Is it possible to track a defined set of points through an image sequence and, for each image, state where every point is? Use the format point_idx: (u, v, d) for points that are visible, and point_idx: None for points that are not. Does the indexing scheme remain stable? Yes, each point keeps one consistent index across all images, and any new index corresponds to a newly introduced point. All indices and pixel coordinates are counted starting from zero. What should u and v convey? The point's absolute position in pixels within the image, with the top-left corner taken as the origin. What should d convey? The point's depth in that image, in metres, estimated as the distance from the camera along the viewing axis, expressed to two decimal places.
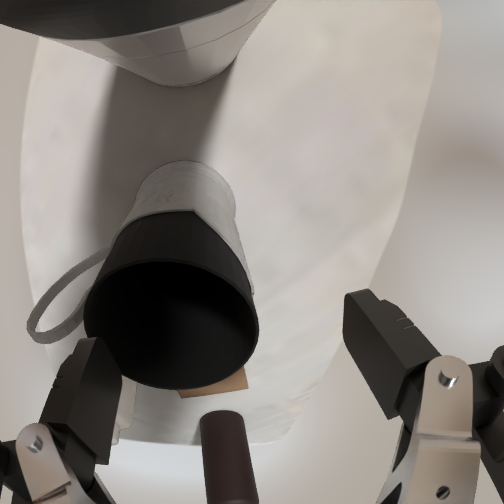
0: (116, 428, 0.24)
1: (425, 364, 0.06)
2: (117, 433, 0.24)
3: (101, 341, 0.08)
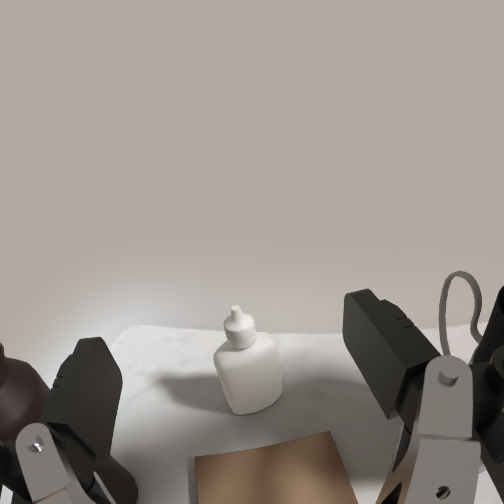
0: (246, 343, 0.23)
1: (425, 364, 0.06)
2: (242, 339, 0.22)
3: (101, 341, 0.08)
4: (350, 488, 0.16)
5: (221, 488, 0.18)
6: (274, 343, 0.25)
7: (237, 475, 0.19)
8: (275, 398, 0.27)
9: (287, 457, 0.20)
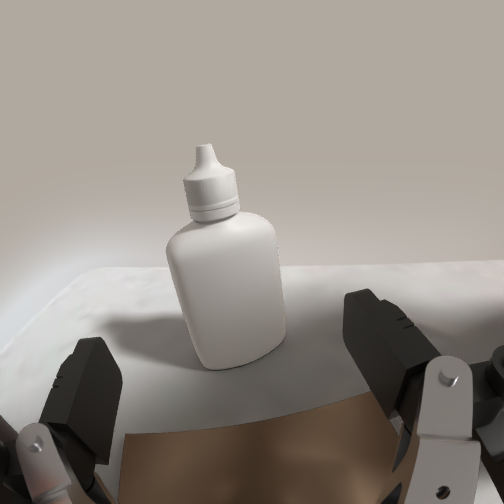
0: (220, 207, 0.13)
1: (425, 364, 0.06)
2: (212, 198, 0.13)
3: (101, 341, 0.08)
4: None
5: (162, 498, 0.08)
6: (270, 226, 0.15)
7: (195, 475, 0.09)
8: (273, 342, 0.17)
9: (297, 443, 0.10)
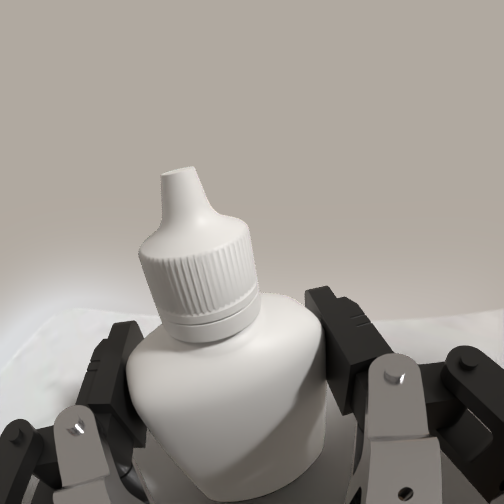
0: (220, 317, 0.06)
1: (372, 361, 0.06)
2: (201, 300, 0.05)
3: (135, 325, 0.09)
4: None
5: None
6: (318, 325, 0.08)
7: None
8: (308, 465, 0.09)
9: None
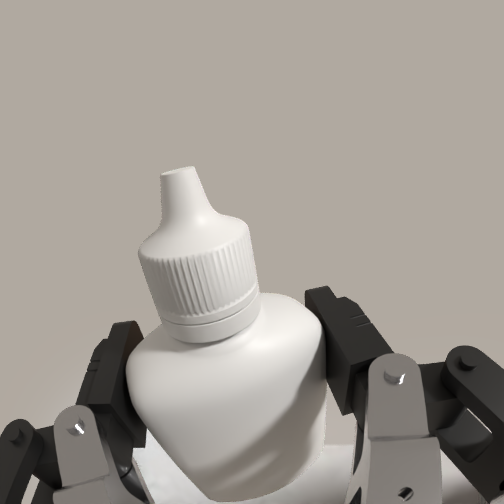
0: (220, 317, 0.06)
1: (372, 361, 0.06)
2: (201, 300, 0.05)
3: (136, 325, 0.09)
4: None
5: None
6: (318, 325, 0.08)
7: None
8: (308, 465, 0.09)
9: None
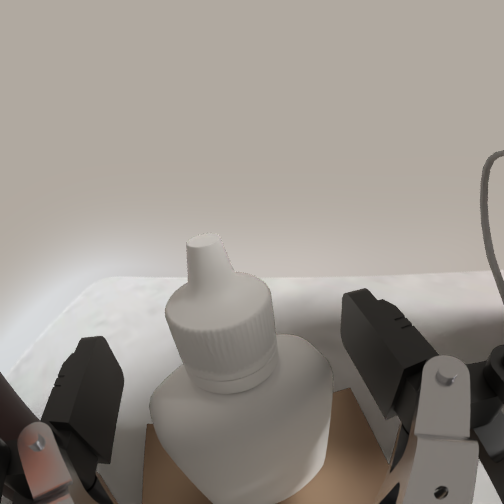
0: (244, 374, 0.06)
1: (422, 364, 0.06)
2: (228, 363, 0.06)
3: (103, 340, 0.08)
4: None
5: (180, 474, 0.11)
6: (327, 367, 0.08)
7: None
8: (310, 478, 0.10)
9: None
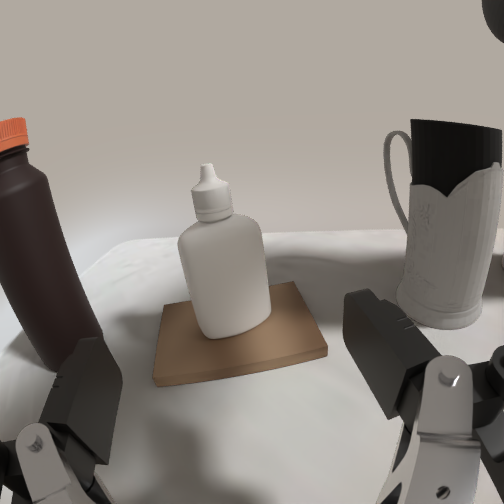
0: (218, 211, 0.18)
1: (425, 364, 0.06)
2: (212, 204, 0.18)
3: (101, 341, 0.08)
4: (313, 322, 0.21)
5: (183, 325, 0.23)
6: (257, 224, 0.20)
7: None
8: (261, 317, 0.22)
9: None
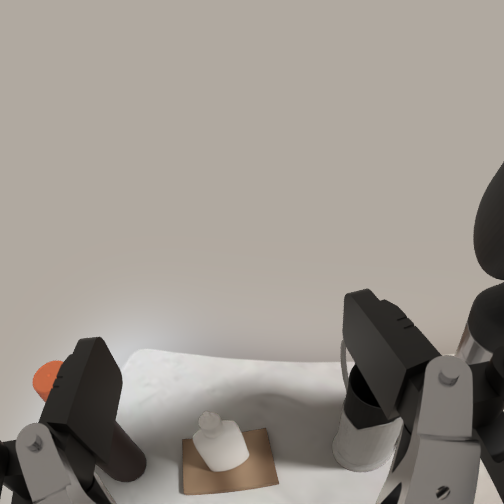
0: (215, 435, 0.27)
1: (425, 363, 0.06)
2: (212, 433, 0.26)
3: (101, 341, 0.08)
4: (273, 464, 0.30)
5: (197, 458, 0.32)
6: (238, 431, 0.28)
7: None
8: (242, 461, 0.31)
9: None
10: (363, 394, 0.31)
